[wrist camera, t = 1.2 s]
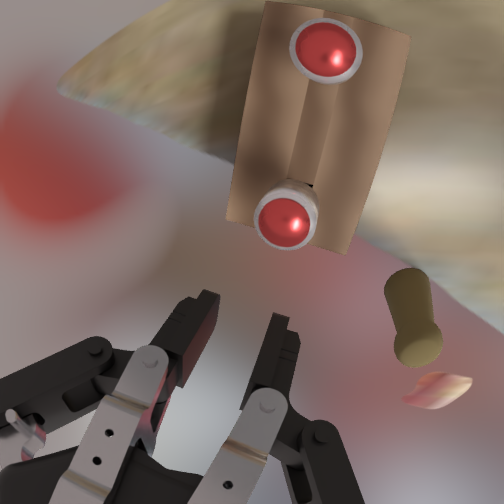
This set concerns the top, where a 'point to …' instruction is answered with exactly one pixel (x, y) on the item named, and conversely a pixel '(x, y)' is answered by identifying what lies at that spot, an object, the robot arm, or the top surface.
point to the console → (316, 123)
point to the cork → (413, 317)
